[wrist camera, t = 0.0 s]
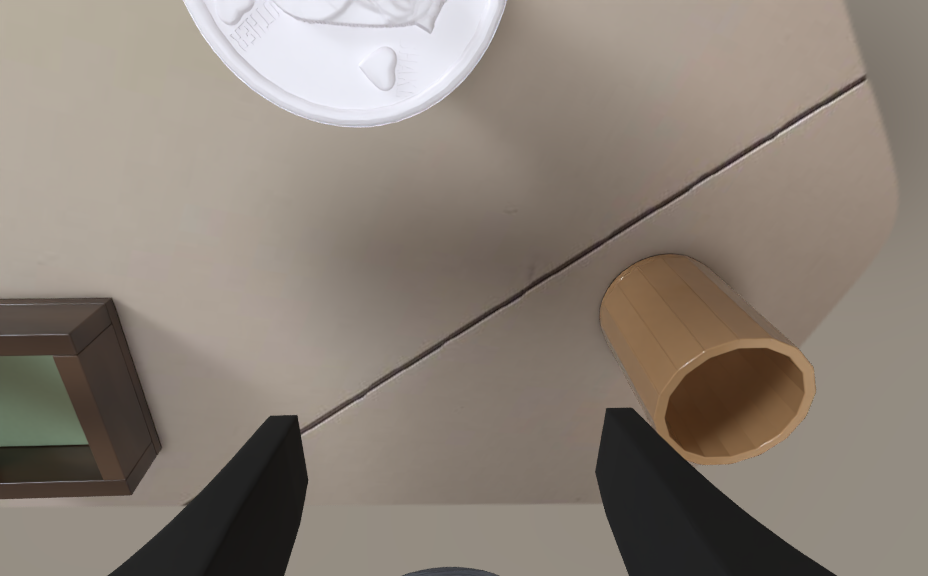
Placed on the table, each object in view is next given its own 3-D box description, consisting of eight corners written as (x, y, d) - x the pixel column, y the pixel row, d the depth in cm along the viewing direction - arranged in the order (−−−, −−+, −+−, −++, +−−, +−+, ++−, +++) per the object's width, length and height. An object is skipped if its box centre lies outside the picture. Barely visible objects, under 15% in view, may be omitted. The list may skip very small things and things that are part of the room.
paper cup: (703, 357, 26) (788, 463, 20) (592, 359, 26) (642, 467, 19) (731, 253, 23) (838, 337, 17) (608, 254, 23) (671, 339, 17)
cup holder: (161, 448, 27) (131, 495, 24) (-17, 453, 26) (-68, 501, 24) (111, 297, 23) (69, 334, 20) (-100, 300, 22) (-172, 337, 20)
